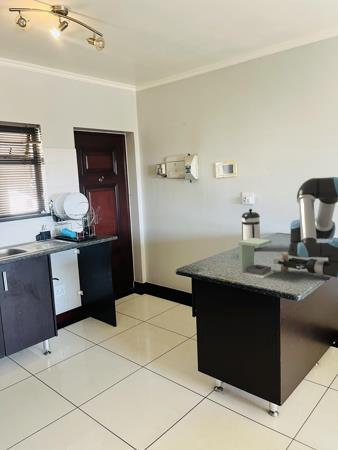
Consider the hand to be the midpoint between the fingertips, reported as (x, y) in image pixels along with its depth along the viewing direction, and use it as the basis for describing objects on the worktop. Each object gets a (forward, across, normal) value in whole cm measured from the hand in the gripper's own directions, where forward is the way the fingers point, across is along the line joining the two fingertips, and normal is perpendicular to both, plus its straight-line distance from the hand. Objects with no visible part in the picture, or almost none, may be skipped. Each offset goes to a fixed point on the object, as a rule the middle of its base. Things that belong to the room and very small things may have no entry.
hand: (275, 260), depth 197 cm
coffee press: (+40, +39, -6) cm, 56 cm away
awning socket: (+6, -11, -6) cm, 14 cm away
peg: (-5, 0, -6) cm, 8 cm away
